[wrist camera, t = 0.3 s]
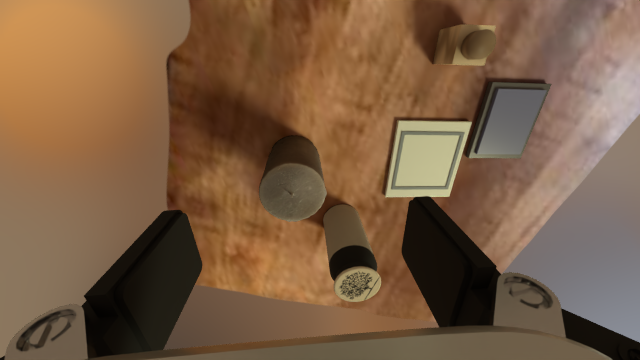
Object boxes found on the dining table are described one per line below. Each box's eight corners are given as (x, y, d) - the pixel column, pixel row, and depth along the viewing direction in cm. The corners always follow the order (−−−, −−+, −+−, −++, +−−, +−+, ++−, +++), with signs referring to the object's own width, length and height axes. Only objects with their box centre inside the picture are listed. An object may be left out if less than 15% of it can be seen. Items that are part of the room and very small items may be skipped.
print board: (397, 119, 45) (399, 121, 44) (469, 121, 46) (472, 122, 45) (384, 195, 52) (385, 197, 51) (447, 194, 53) (449, 197, 52)
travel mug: (316, 225, 54) (322, 294, 38) (334, 198, 51) (349, 260, 35) (346, 237, 56) (364, 308, 40) (365, 212, 53) (393, 277, 37)
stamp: (439, 29, 39) (470, 22, 32) (469, 31, 39) (506, 23, 32) (432, 64, 41) (460, 64, 34) (460, 65, 41) (493, 65, 34)
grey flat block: (488, 81, 43) (495, 82, 41) (546, 83, 44) (554, 84, 42) (465, 156, 49) (470, 158, 48) (516, 156, 50) (522, 159, 48)
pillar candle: (264, 138, 45) (248, 171, 31) (317, 132, 45) (323, 161, 31) (274, 184, 49) (264, 231, 35) (322, 178, 49) (330, 222, 36)
